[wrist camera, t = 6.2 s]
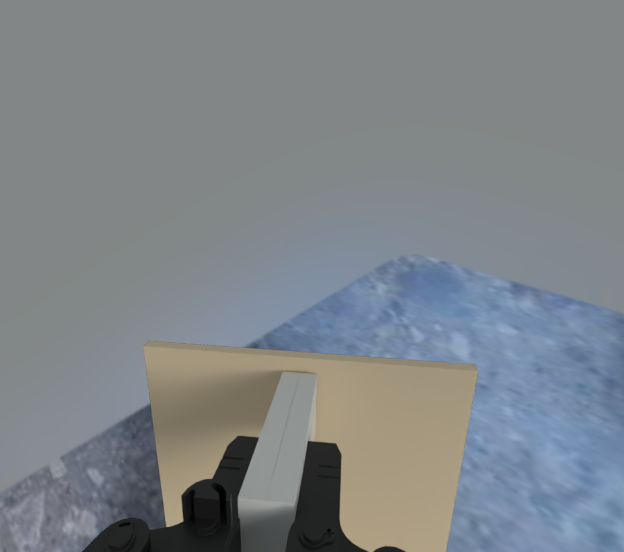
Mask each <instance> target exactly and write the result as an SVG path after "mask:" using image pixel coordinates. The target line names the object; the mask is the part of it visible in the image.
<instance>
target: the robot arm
mask: <svg viewBox="0 0 624 552" xmlns="http://www.w3.org/2000/svg"><path fill="white" fill-rule="evenodd" d="M316 394H317V374H310V373H296V372H283V373H282V375H281V378H280V381H279V384H278V387H277V389H276V392H275V395H274V398H273V401H272V403H271V406H270V409H269V412H268V414H267V417H266V420H265V423H264V426H263V428H262V431H261V434H260V437H249V436H237V437H236V438H235V439H234V440H233V441H232V442H231V443H230V444H228V446H227V448H226V450H225V452H224V455H223V457H222V459H221V461H220V463H219V465H218V469H216V472H215V474H214V476H213V478H212V479H204V480H201V481H198V482H195V483H194V484H193V485H191V486H190V487H188V488H187V489H186V490H185V492H184V493H183V494H182V495H181V500H182V512H183V522H181V523H179V524H177V525H173V526H170V527H165V528H160V529H155V530H150V531H149V529H148V526H147V524H146V523H145V522H144V521H142V520H141V519H136V518H129V519H123V520H120V521H118V522H116V523H114V524H112V525H110V526H109V527H107V528H106V529H105V530H104V531H102V532H101V533H100V534H99V535H98V536H97V537H96V538H95V539H94V540H93V541H92V542H91V543H90V544H89V545H88V546H87V547H86V548H85V549H84V550H83V551H82V552H368V551H366V550H364V549H362V548H360V547H358V546H357V545H355V544H353V543H352V542H351V541H350V540H349V539H348V538H347V537H346V535H345V534H344V532H343V531H342V528H341V525H340V489H341V458H342V454H341V452H340V450H339V448H338V446H337V444H336V443H327V442H316V441H314V436H315V429H316ZM374 552H406V551H404V550H402V549H399V548H397V547H392V546H384V547H381V548H378V549H376V550H375V551H374Z"/></svg>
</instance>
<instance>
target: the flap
mask: <svg viewBox="0 0 624 552" xmlns="http://www.w3.org/2000/svg"><path fill="white" fill-rule="evenodd" d="M143 348H144V357H145V364H146V372H147V380H148V388H149V395H150V403H151V411H152V419H153V427H154V434H155V442H156V450H157V458H158V465H159V473H160V481H161V489H162V496H163V504H164V512H165V520H166V527H170V526H173V525H177V524H179V523H181V522H183V512H182V500H181V495H182V494H183V493H184V492H185V490H186V489H187V488H188V487H190V486H191V485H193V484H194V483H195V482H198V481H201V480H204V479H212V478H213V476H214V474H215V472H216V469H218V465H219V463H220V461H221V459H222V457H223V455H224V452H225V450H226V448H227V446H228V444H230V443H231V442H232V441H233V440H234V439H235V438H236V437H237V436H249V437H260V434H261V431H262V428H263V426H264V423H265V420H266V417H267V414H268V412H269V409H270V406H271V403H272V401H273V398H274V395H275V392H276V389H277V387H278V384H279V381H280V378H281V375H282V373H283V372H296V373H310V374H317V394H316V429H315V436H314V441H316V442H327V443H336V444H337V446H338V448H339V450H340V452H341V454H342V458H341V489H340V525H341V528H342V531H343V532H344V534H345V535H346V537H347V538H348V539H349V540H350V541H351V542H352V543H353V544H355V545H357V546H358V547H360V548H362V549H364V550H366V551H368V552H374V551H375V550H376V549H378V548H381V547H384V546H392V547H397V548H399V549H402V550H404V551H406V552H446V549H447V543H448V537H449V532H450V526H451V521H452V515H453V509H454V504H455V498H456V493H457V487H458V481H459V476H460V470H461V465H462V459H463V453H464V448H465V442H466V437H467V431H468V425H469V420H470V414H471V408H472V403H473V397H474V392H475V386H476V380H477V375H478V370H477V368H476V366H475V365H474V364H461V363H447V362H433V361H419V360H406V359H392V358H378V357H364V356H350V355H337V354H323V353H309V352H295V351H281V350H268V349H254V348H240V347H226V346H213V345H199V344H185V343H171V342H157V341H148V342H147V343H146V344H145V345H144V346H143Z"/></svg>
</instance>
